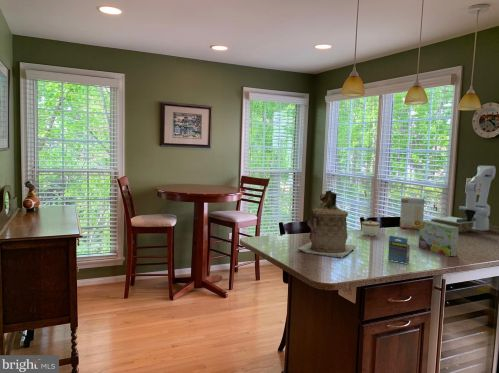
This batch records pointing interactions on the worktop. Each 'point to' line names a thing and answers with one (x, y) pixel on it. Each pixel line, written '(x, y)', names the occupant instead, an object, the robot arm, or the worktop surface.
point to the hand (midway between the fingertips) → (469, 221)
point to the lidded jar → (370, 228)
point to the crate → (456, 225)
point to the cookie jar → (328, 229)
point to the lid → (456, 220)
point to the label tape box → (398, 249)
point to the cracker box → (411, 212)
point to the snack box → (438, 237)
